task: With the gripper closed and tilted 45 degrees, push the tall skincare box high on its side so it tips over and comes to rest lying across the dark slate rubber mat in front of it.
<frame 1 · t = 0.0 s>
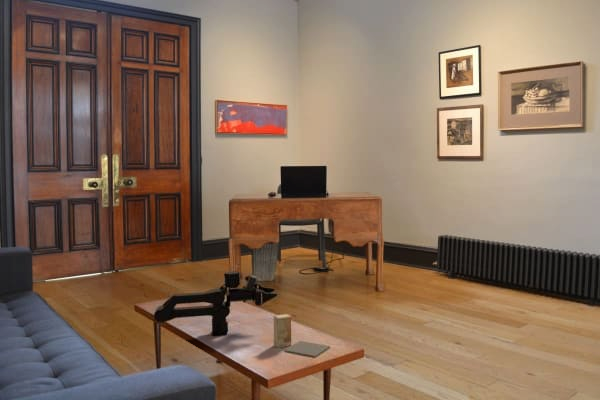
hand: (275, 292, 243), 17 cm above the table, tool horizontal, fingers open, 9 cm apart
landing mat: (307, 349, 217), on the table
skincare box: (282, 345, 223), on the table
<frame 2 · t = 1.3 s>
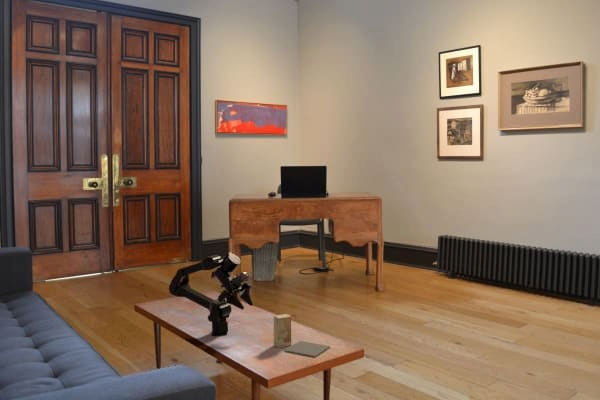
hand: (247, 307, 231), 14 cm above the table, tool tilted 45°, fingers open, 6 cm apart
nothing on the table moved.
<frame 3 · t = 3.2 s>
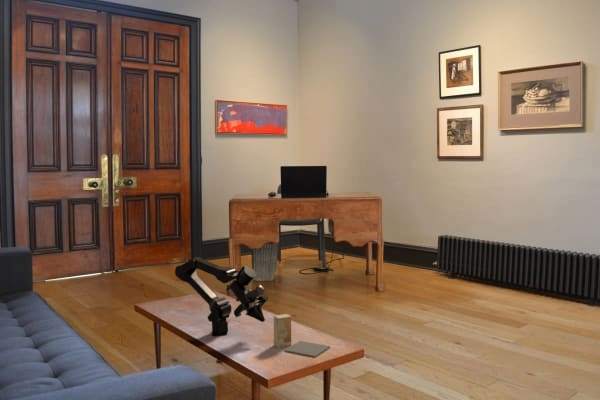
hand: (263, 321, 227), 9 cm above the table, tool tilted 45°, fingers closed
nothing on the table moved.
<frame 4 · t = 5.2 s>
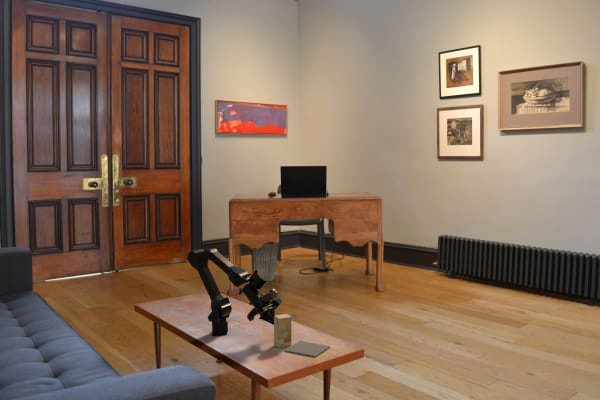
hand: (277, 325, 224), 8 cm above the table, tool tilted 45°, fingers closed
skincare box: (282, 345, 223), on the table, touching gripper
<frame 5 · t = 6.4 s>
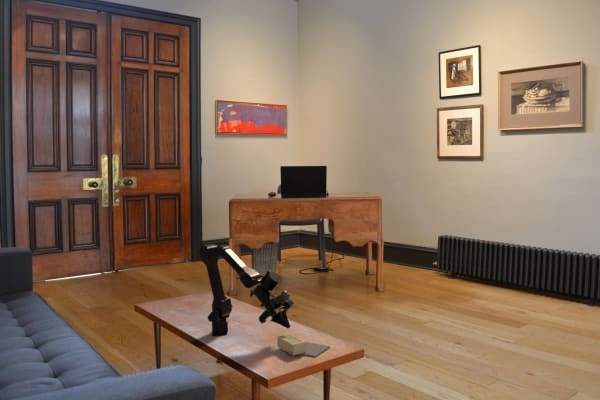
hand: (289, 327, 221), 8 cm above the table, tool tilted 45°, fingers closed
skincare box: (283, 340, 221), point 3 cm above the table, touching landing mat
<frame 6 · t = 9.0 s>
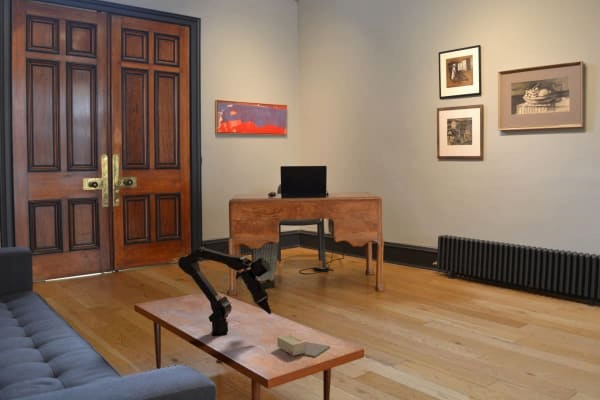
hand: (270, 313, 232), 10 cm above the table, tool tilted 30°, fingers closed
nothing on the table moved.
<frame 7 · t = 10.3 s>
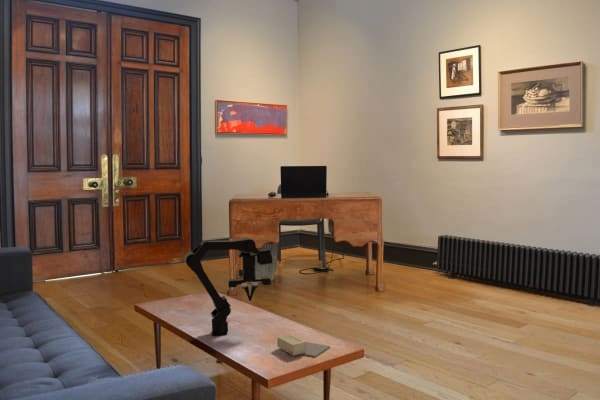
hand: (250, 300, 244), 13 cm above the table, tool pointing down, fingers closed
nothing on the table moved.
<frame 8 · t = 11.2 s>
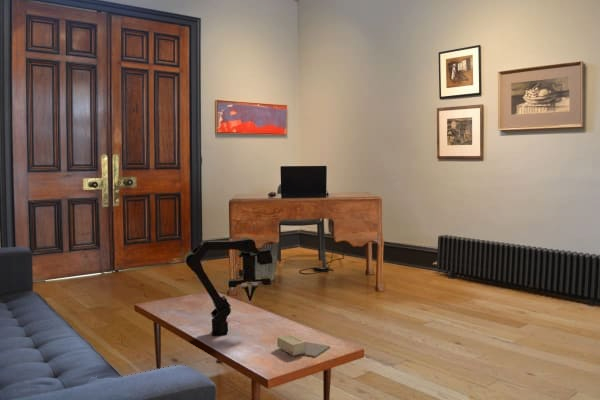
hand: (250, 300, 244), 13 cm above the table, tool pointing down, fingers closed
nothing on the table moved.
at the end: skincare box tilted 90°; skincare box touching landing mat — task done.
